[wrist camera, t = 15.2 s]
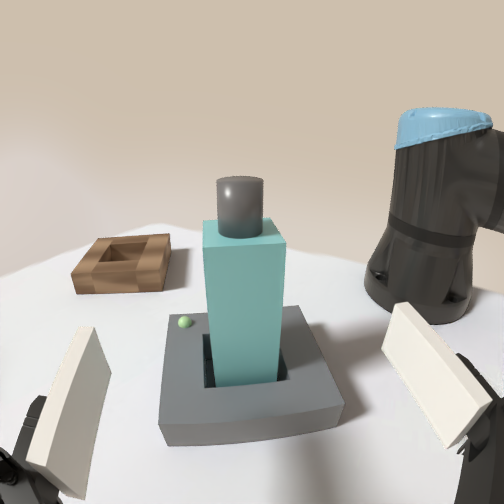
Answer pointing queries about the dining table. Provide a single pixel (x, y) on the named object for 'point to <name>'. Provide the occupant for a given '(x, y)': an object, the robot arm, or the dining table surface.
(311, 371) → the port
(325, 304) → the dining table surface
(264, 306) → the plug
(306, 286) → the dining table surface
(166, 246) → the holster
